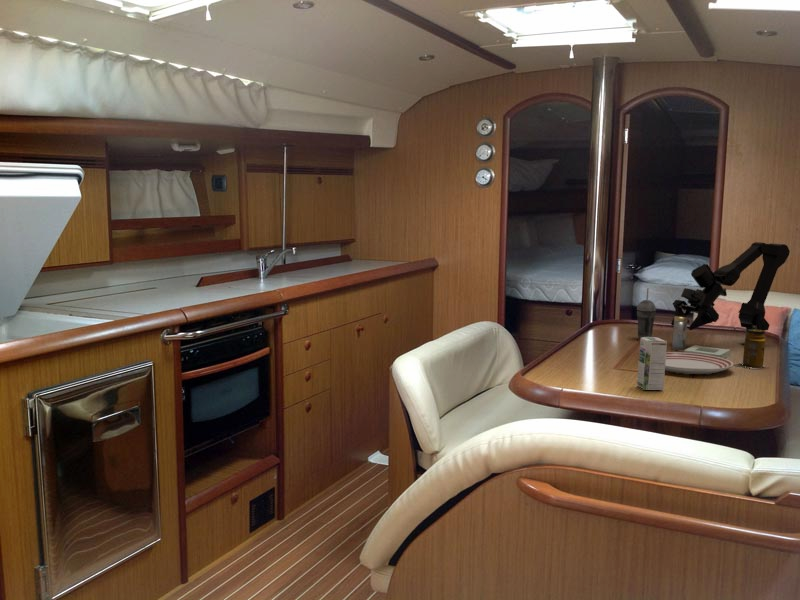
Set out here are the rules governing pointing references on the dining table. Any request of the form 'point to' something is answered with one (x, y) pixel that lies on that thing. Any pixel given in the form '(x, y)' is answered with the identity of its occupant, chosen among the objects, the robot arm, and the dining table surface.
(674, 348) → the jar with gold lid
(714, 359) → the dinner plate
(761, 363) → the condiment
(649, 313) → the beverage cup
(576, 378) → the dining table surface
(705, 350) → the white flat square frame
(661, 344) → the syrup box
